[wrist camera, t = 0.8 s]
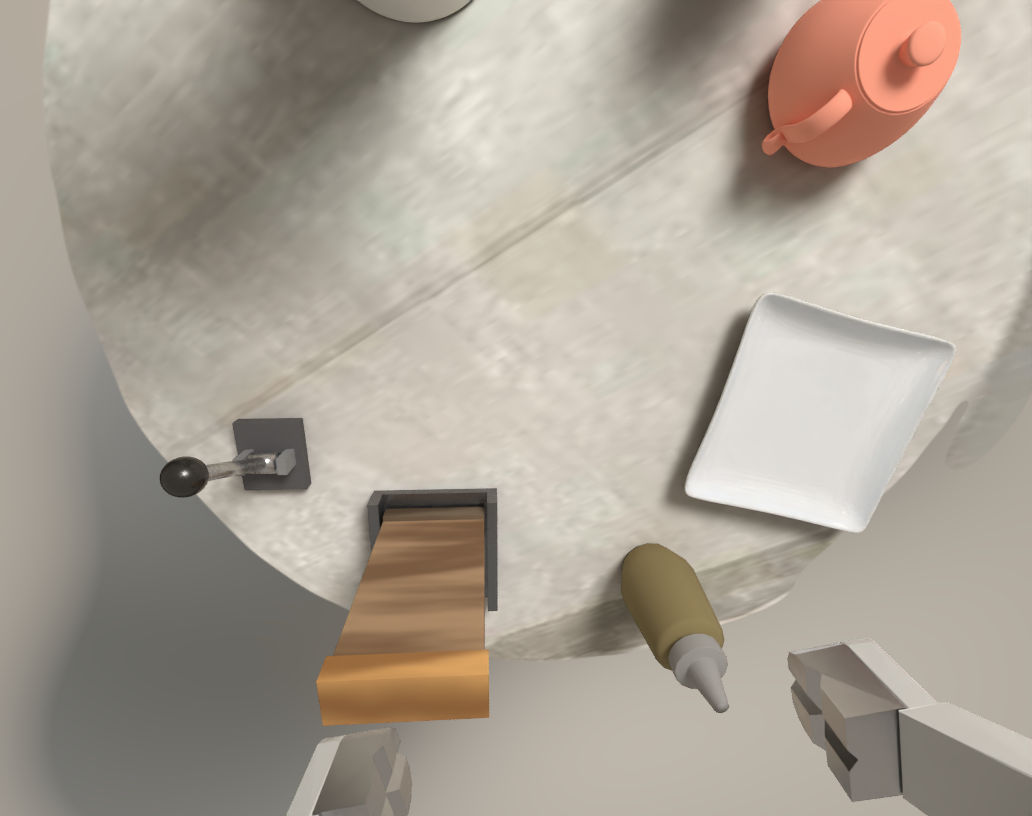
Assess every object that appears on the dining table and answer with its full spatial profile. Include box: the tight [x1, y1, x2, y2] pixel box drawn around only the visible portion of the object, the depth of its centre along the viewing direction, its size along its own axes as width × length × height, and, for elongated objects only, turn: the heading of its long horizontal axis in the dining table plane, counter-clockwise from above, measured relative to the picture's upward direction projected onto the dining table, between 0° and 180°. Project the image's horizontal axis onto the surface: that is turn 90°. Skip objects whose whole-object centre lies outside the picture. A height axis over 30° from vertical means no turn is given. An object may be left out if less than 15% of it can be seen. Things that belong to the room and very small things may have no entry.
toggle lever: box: [160, 452, 280, 497], centre depth 39 cm, size 3×3×14 cm
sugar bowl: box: [762, 0, 961, 168], centre depth 36 cm, size 12×14×10 cm
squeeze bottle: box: [621, 543, 729, 713], centre depth 46 cm, size 8×8×18 cm
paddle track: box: [367, 488, 497, 611], centre depth 51 cm, size 13×13×3 cm
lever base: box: [232, 418, 311, 490], centre depth 46 cm, size 7×6×4 cm
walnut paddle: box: [316, 507, 489, 726], centre depth 40 cm, size 4×11×21 cm, turn 89°
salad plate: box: [684, 292, 956, 533], centre depth 49 cm, size 21×21×3 cm
